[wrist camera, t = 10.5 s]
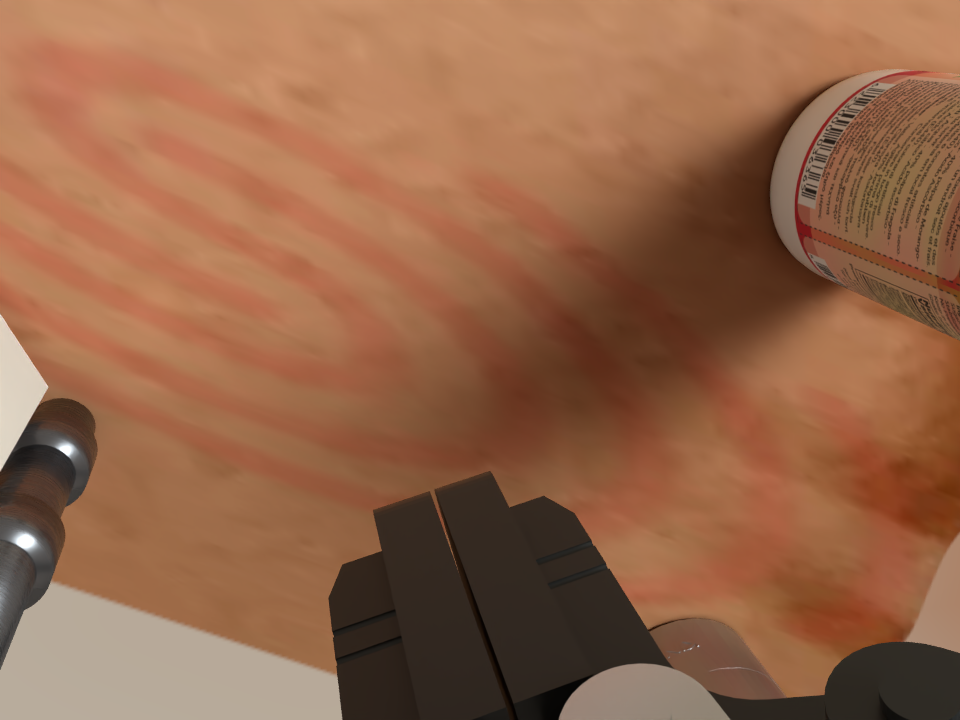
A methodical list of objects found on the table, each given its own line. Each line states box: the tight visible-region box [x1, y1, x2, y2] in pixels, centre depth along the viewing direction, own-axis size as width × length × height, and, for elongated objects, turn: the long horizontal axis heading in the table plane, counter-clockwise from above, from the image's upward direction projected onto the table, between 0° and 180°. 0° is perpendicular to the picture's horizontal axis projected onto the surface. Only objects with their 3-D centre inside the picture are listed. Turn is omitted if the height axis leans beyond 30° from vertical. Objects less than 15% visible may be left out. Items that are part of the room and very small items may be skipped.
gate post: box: [0, 398, 97, 669], centre depth 28 cm, size 3×3×14 cm
